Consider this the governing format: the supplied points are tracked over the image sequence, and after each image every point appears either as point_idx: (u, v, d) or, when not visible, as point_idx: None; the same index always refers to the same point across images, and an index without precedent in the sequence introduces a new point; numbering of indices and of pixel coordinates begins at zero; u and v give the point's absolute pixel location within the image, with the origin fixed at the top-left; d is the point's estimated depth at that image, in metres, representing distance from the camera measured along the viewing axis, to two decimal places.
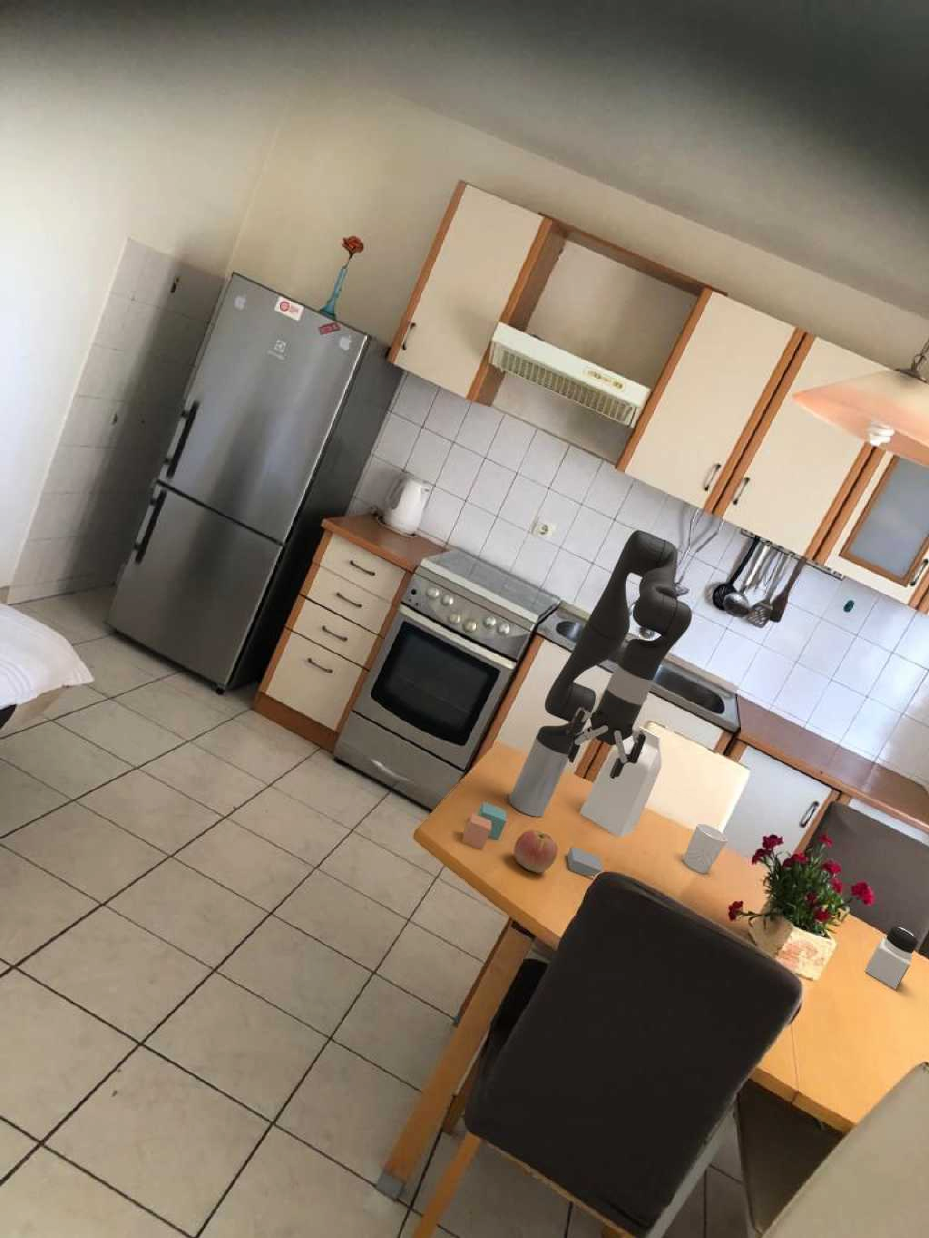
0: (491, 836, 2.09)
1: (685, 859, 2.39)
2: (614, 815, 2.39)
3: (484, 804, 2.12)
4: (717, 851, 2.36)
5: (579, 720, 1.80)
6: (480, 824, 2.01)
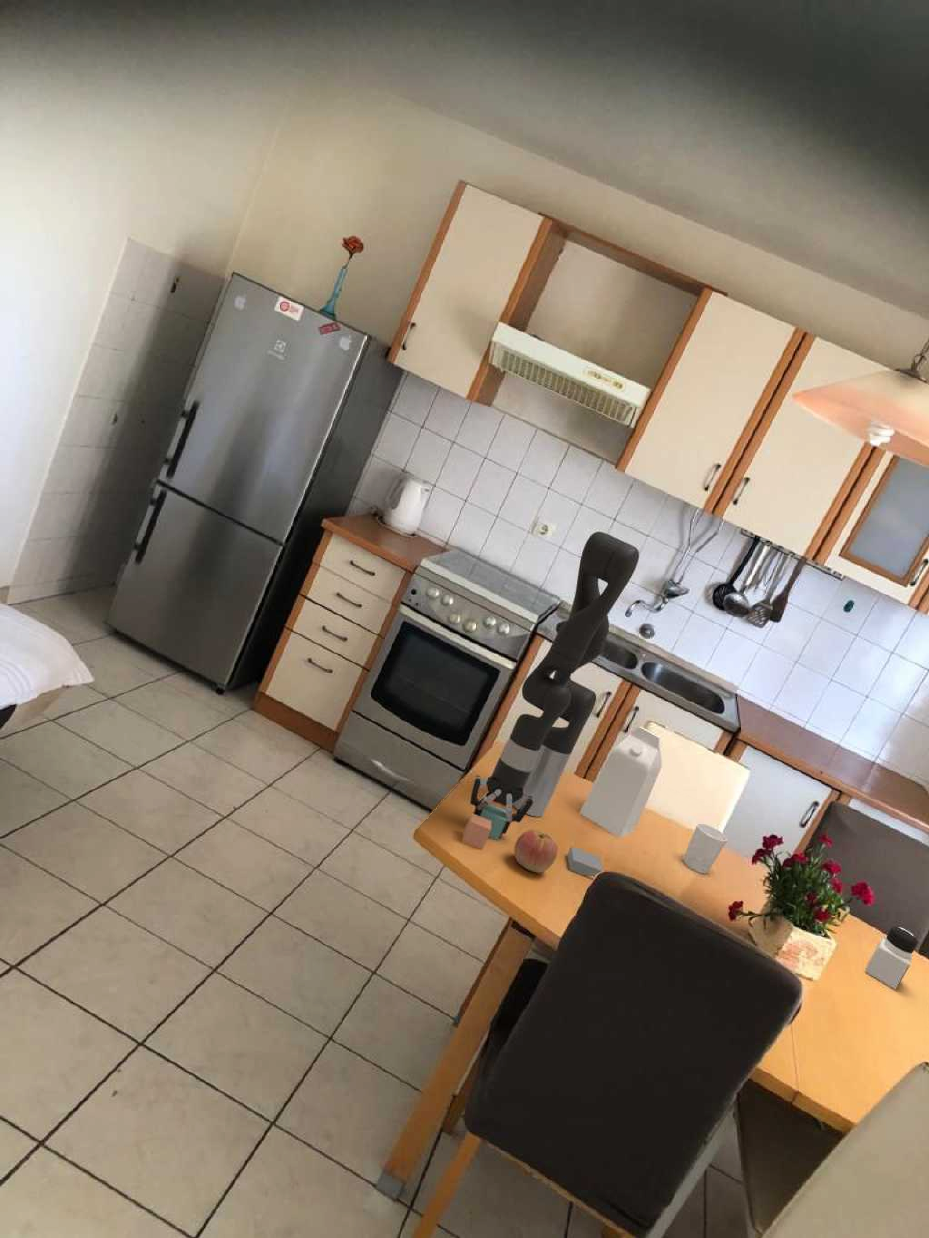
0: (491, 836, 2.09)
1: (685, 859, 2.39)
2: (614, 815, 2.39)
3: None
4: (717, 851, 2.36)
5: (477, 788, 2.08)
6: (480, 824, 2.01)
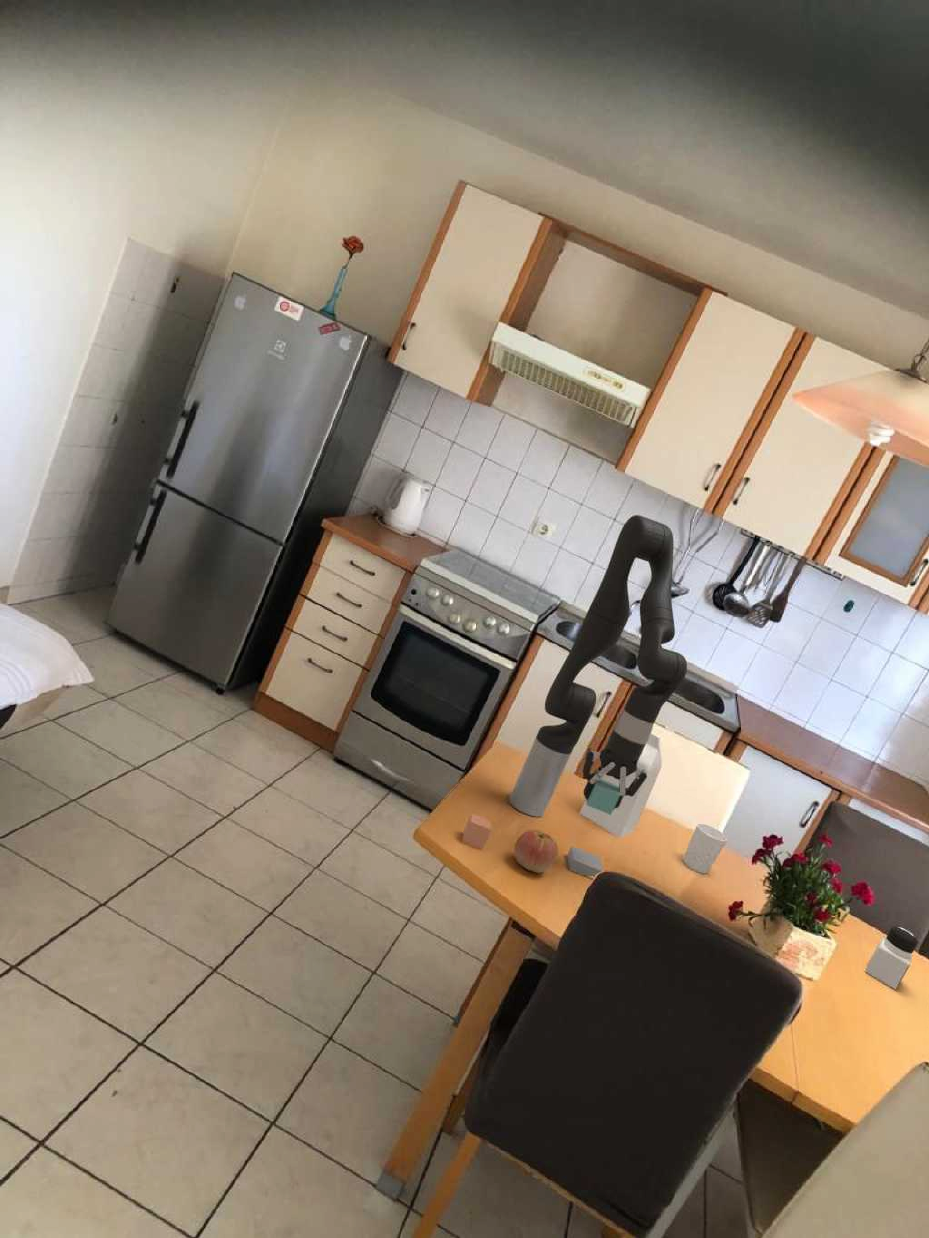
0: (604, 810, 2.06)
1: (685, 859, 2.39)
2: (614, 815, 2.39)
3: None
4: (717, 851, 2.36)
5: (590, 761, 2.06)
6: (480, 824, 2.01)
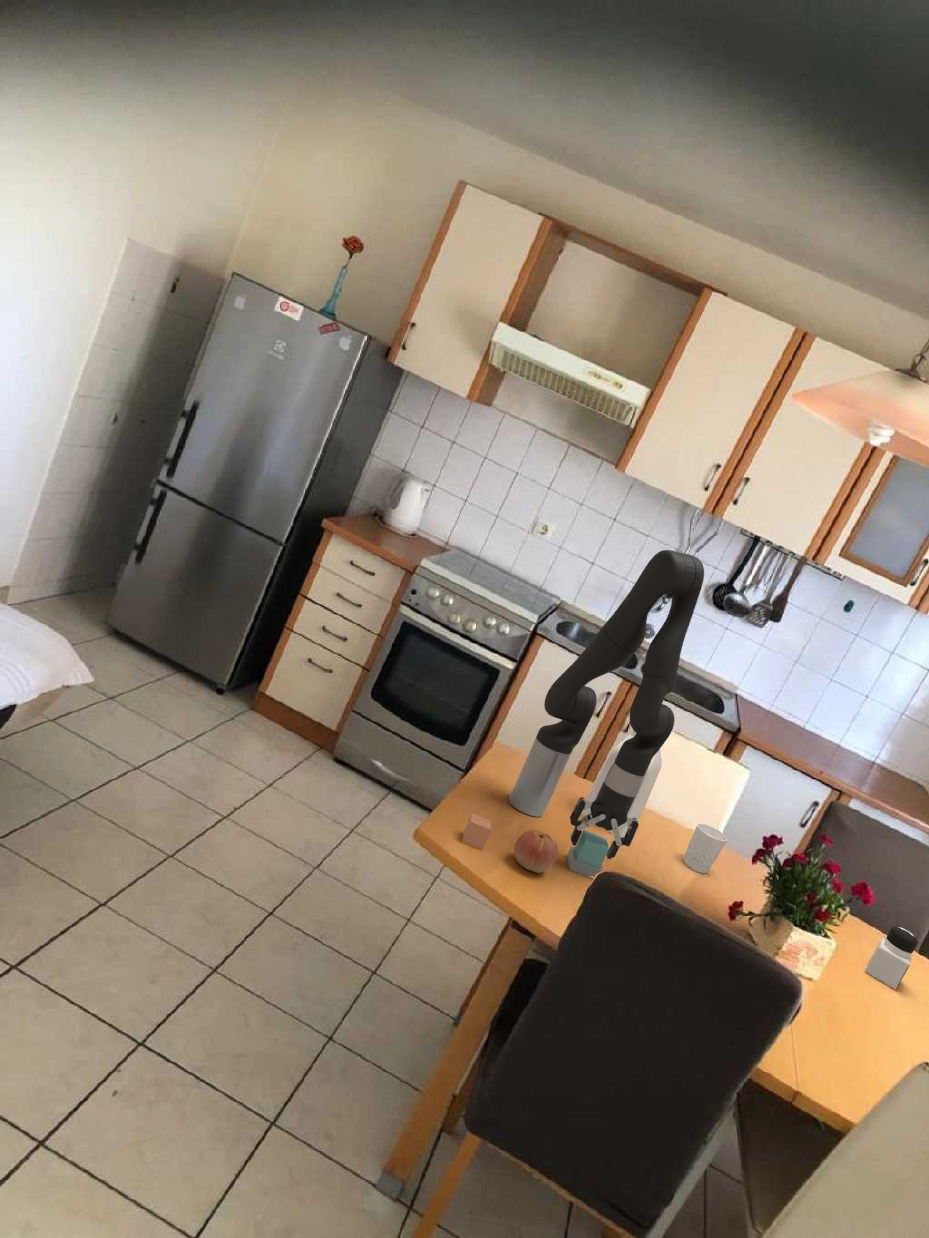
0: (593, 864, 2.09)
1: (685, 859, 2.39)
2: None
3: (585, 831, 2.12)
4: (717, 851, 2.36)
5: (580, 809, 2.08)
6: (480, 824, 2.01)
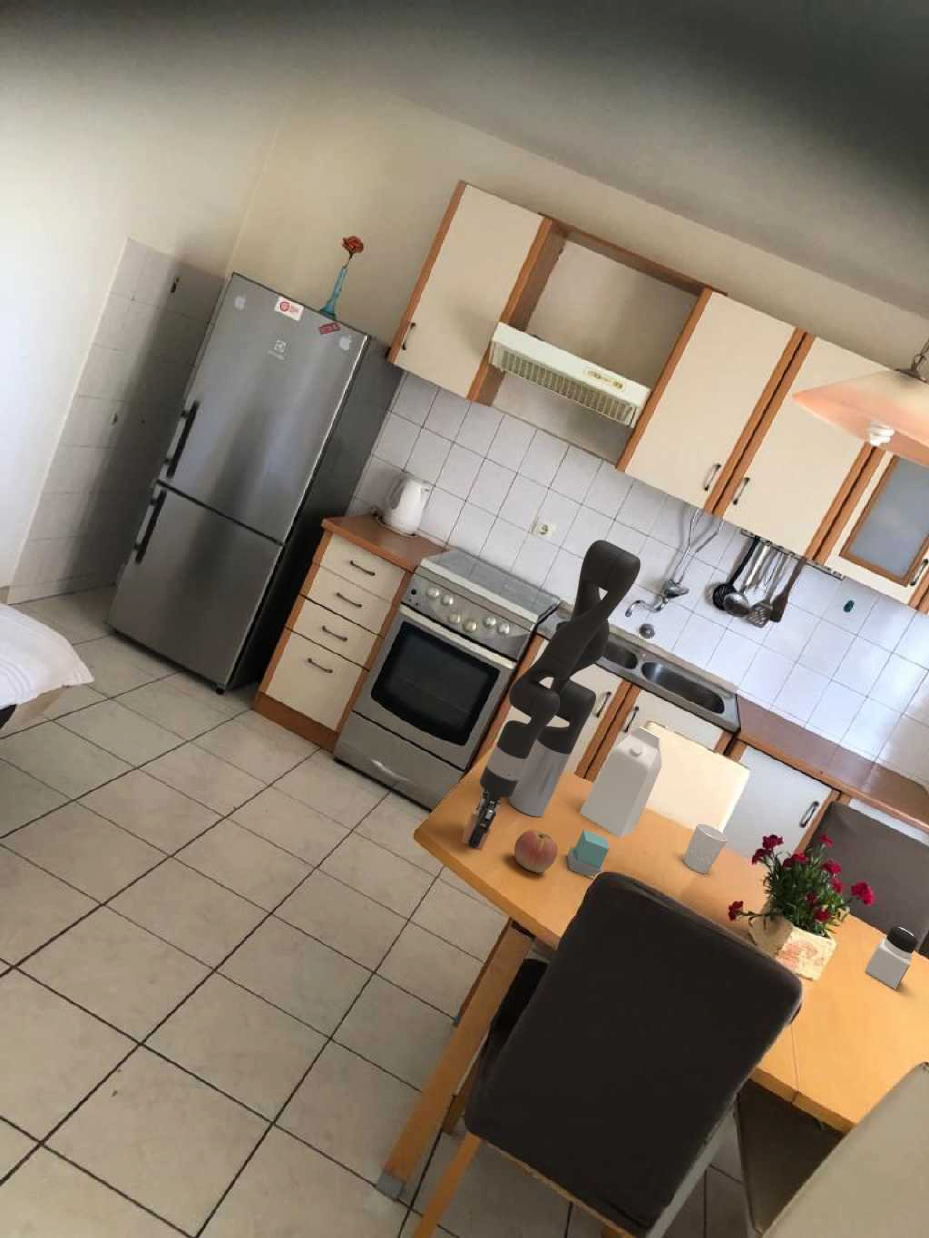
0: (593, 864, 2.09)
1: (685, 859, 2.39)
2: (614, 815, 2.39)
3: (585, 831, 2.12)
4: (717, 851, 2.36)
5: None
6: (480, 824, 2.01)
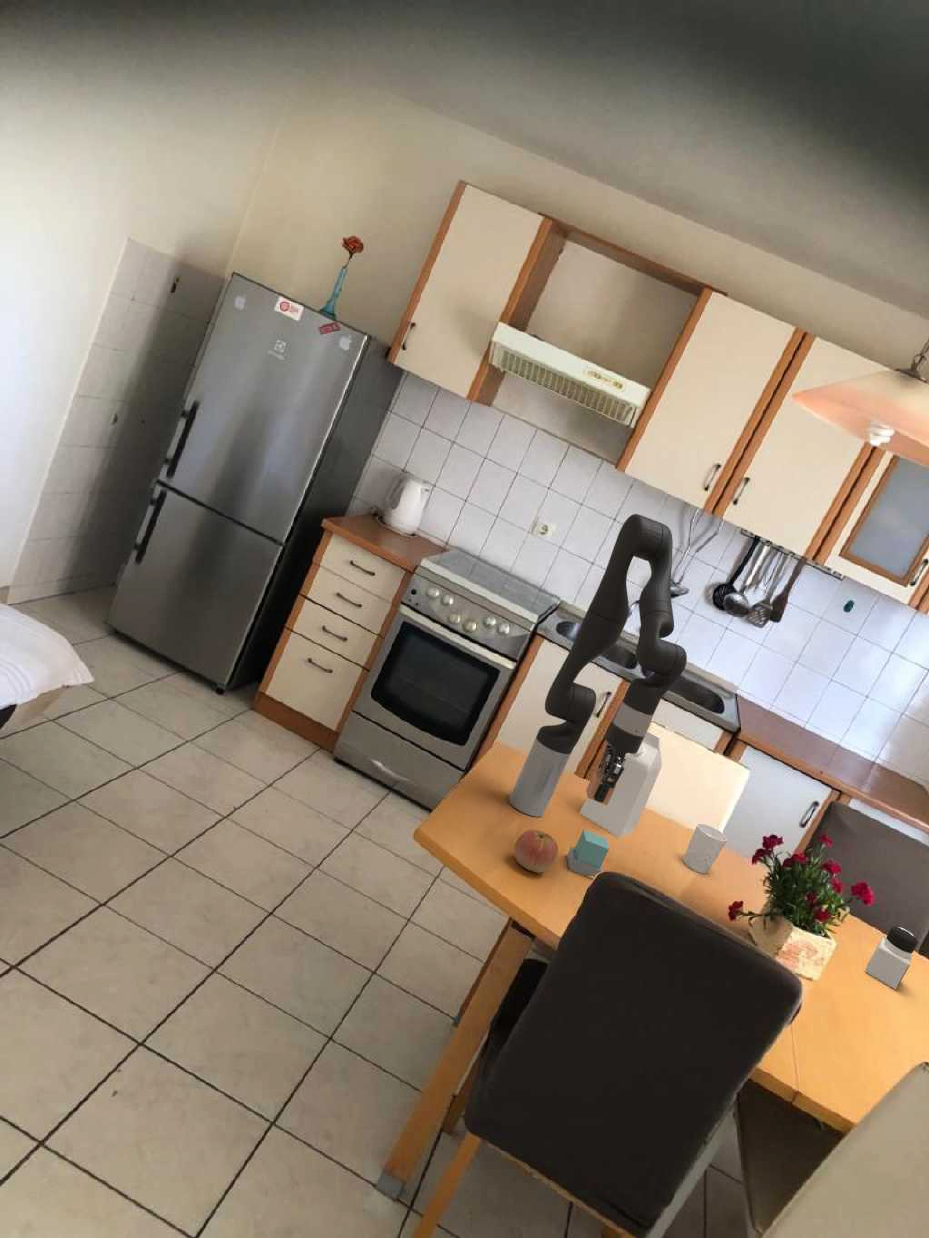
0: (593, 864, 2.09)
1: (685, 859, 2.39)
2: (614, 815, 2.39)
3: (585, 831, 2.12)
4: (717, 851, 2.36)
5: (605, 751, 2.11)
6: None
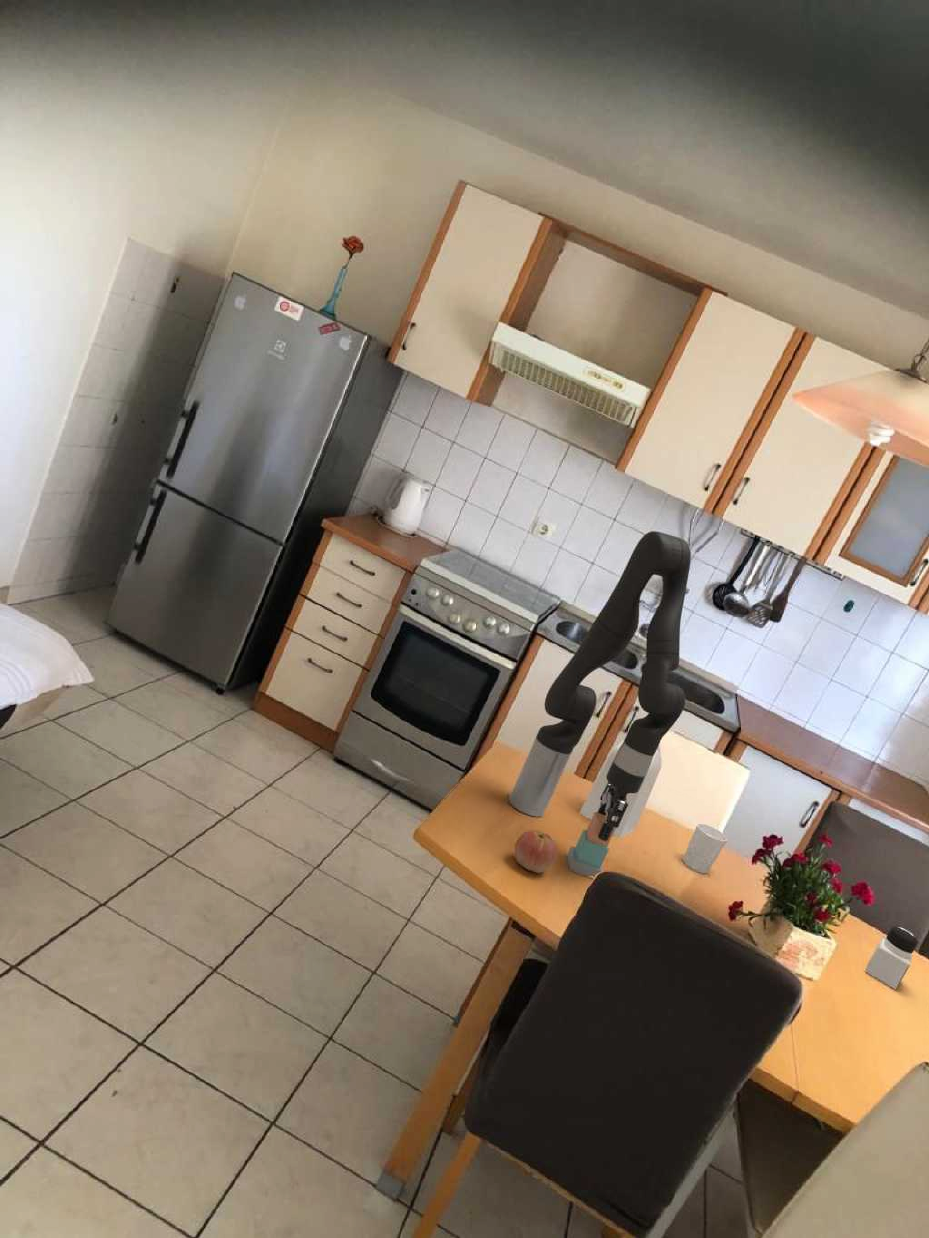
0: (593, 864, 2.09)
1: (685, 859, 2.39)
2: None
3: (585, 831, 2.12)
4: (717, 851, 2.36)
5: (607, 785, 2.15)
6: None
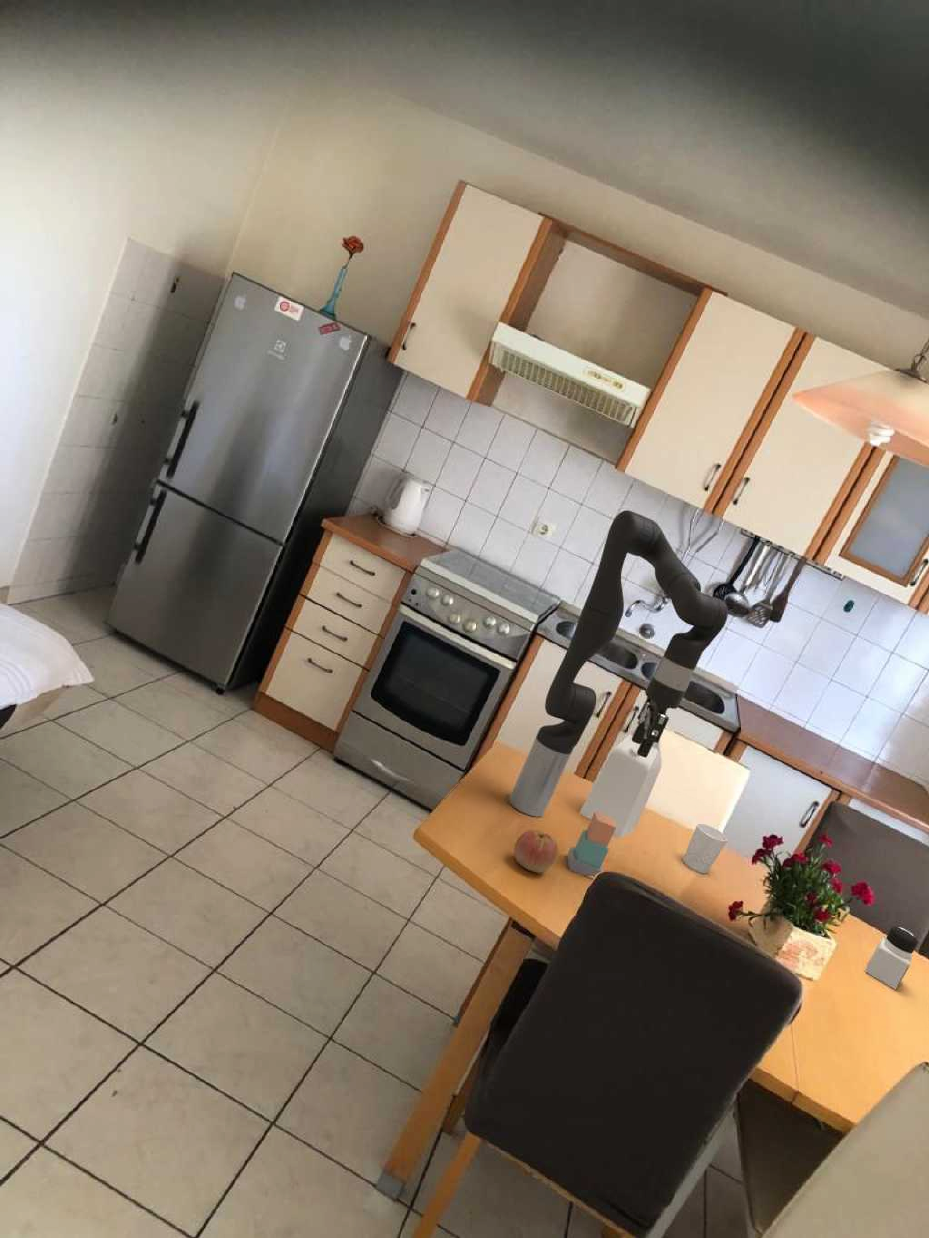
0: (593, 864, 2.09)
1: (685, 859, 2.39)
2: (614, 815, 2.39)
3: (585, 831, 2.12)
4: (717, 851, 2.36)
5: (645, 703, 2.10)
6: (605, 822, 2.08)
